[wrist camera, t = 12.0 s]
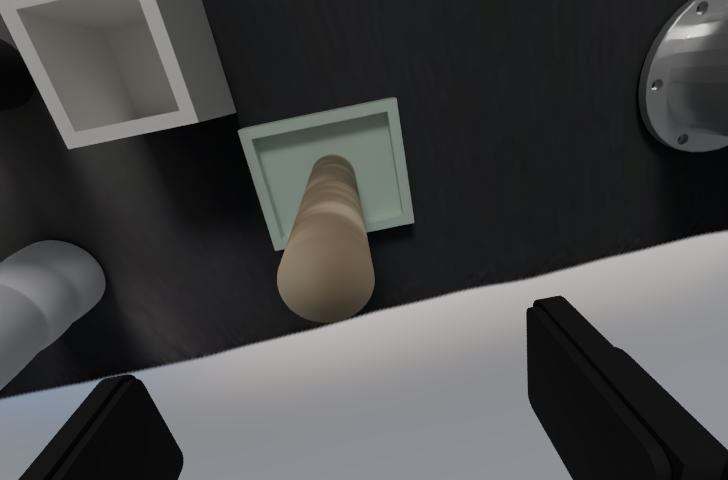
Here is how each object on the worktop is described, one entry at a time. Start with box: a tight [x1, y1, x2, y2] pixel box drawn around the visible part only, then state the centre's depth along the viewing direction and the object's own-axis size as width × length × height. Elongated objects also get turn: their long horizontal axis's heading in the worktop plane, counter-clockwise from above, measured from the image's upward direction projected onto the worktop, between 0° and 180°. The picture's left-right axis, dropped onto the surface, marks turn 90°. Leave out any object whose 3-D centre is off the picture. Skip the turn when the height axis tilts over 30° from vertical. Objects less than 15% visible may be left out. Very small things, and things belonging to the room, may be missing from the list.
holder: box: [0, 0, 236, 149], centre depth 23 cm, size 8×8×8 cm
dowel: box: [277, 154, 375, 323], centre depth 22 cm, size 4×4×18 cm
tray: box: [238, 97, 414, 251], centre depth 30 cm, size 12×10×2 cm
